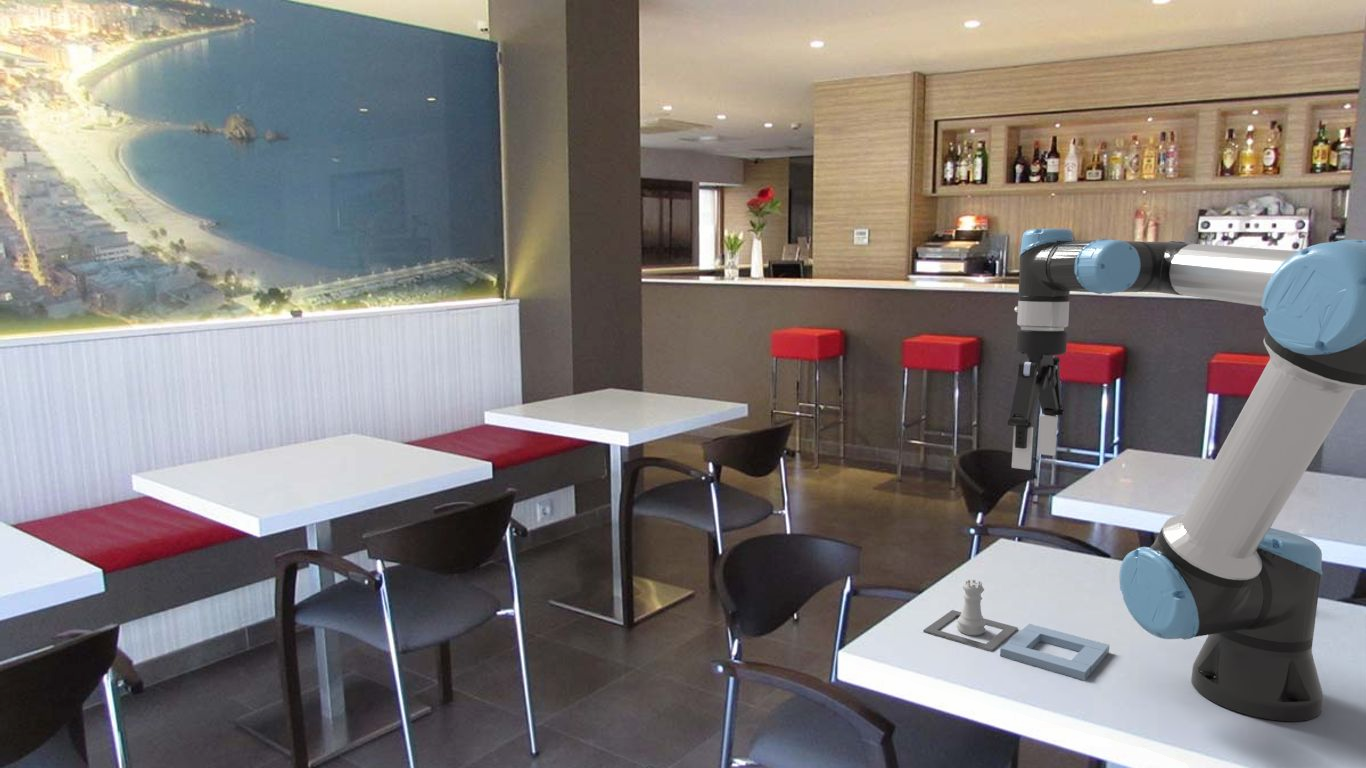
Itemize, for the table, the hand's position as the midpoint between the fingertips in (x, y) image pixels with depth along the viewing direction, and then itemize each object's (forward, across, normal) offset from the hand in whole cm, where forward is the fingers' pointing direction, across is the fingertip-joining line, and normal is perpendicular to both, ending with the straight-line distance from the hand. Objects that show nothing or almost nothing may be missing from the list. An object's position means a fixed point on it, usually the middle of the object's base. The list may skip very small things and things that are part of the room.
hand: (1034, 461), depth 147 cm
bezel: (+26, +10, -6) cm, 29 cm away
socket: (+27, +10, +7) cm, 30 cm away
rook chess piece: (+27, +10, -6) cm, 29 cm away
